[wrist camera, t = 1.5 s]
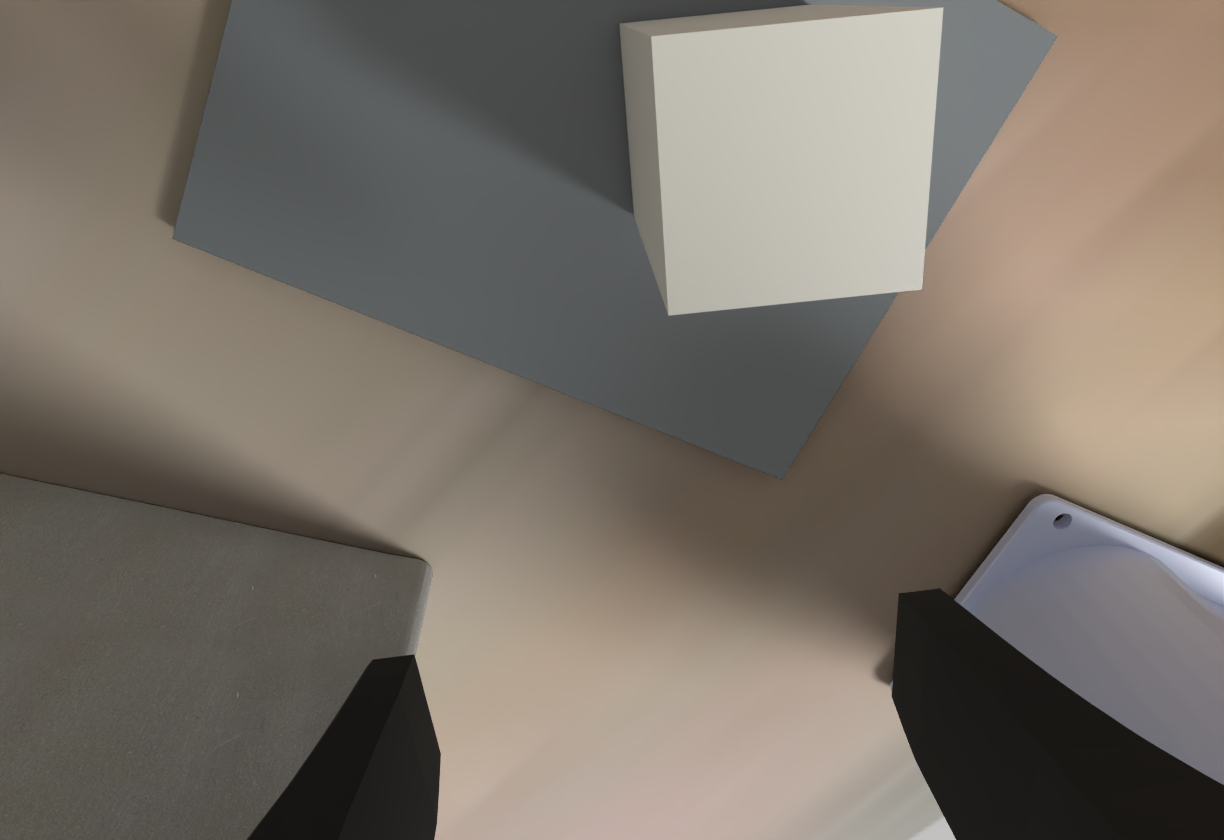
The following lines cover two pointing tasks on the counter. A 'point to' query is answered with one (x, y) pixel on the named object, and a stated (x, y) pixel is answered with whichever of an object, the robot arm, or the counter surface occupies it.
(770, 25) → the cream block
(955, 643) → the robot arm
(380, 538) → the counter surface
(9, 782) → the gray chamfered slab
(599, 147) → the rubber mat
